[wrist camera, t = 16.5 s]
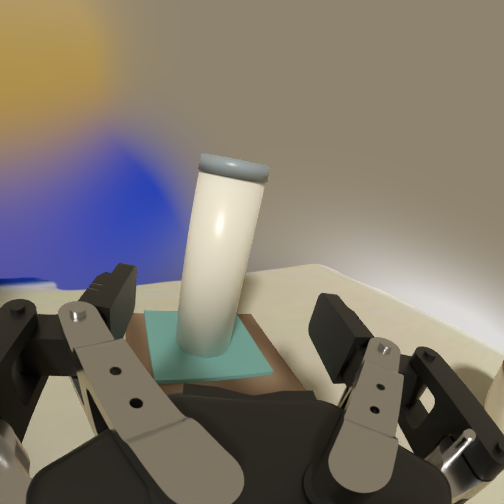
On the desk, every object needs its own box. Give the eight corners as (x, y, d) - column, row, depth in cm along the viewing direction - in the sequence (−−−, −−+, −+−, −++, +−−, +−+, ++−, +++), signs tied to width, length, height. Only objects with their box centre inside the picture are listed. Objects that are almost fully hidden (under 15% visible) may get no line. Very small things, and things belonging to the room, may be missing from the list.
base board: (210, 644, 2) (213, 648, 2) (125, 322, 28) (125, 312, 27) (419, 548, 8) (430, 542, 8) (248, 322, 34) (250, 314, 33)
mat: (155, 383, 20) (155, 380, 19) (144, 313, 28) (144, 310, 28) (272, 374, 24) (273, 371, 24) (234, 314, 32) (235, 311, 32)
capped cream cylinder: (180, 359, 22) (211, 155, 18) (170, 324, 27) (195, 151, 22) (238, 356, 25) (282, 169, 20) (221, 324, 29) (254, 162, 24)
